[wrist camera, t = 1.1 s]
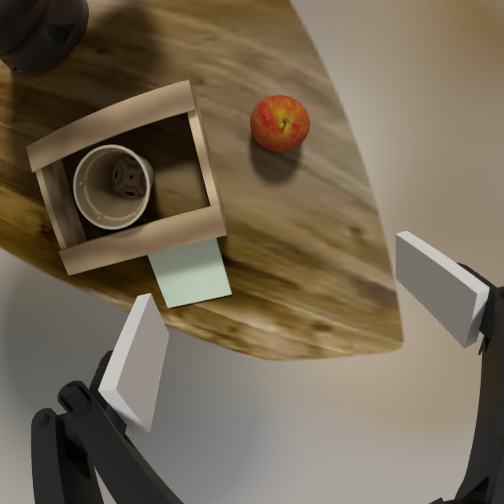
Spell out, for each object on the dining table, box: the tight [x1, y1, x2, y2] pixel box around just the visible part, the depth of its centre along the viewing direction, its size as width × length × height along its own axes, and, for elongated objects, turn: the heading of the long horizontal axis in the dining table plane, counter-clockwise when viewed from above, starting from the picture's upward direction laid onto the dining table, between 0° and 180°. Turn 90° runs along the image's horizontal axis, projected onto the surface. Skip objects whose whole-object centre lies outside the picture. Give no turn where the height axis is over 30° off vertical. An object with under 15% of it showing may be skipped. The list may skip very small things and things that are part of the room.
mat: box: [148, 238, 232, 308], centre depth 42 cm, size 10×10×1 cm
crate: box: [26, 80, 227, 275], centre depth 34 cm, size 18×22×7 cm
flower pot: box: [73, 145, 154, 230], centre depth 33 cm, size 9×9×9 cm
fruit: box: [250, 95, 310, 152], centre depth 32 cm, size 7×7×8 cm
